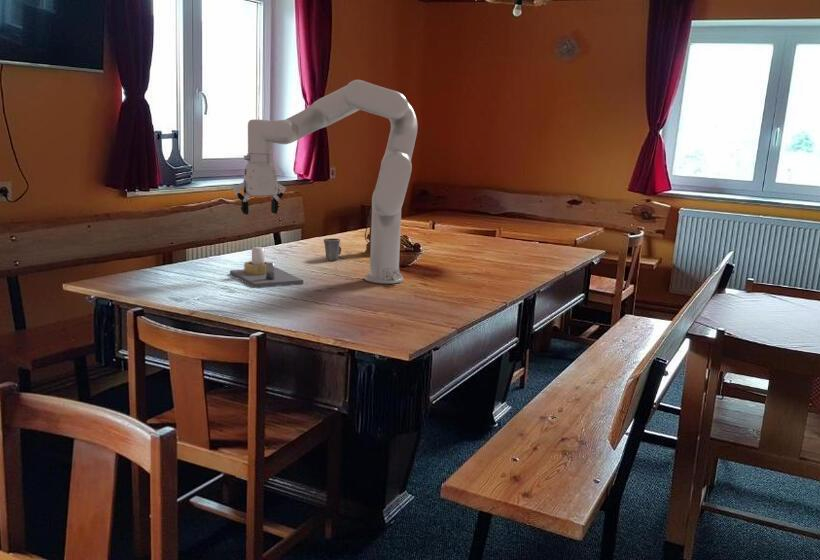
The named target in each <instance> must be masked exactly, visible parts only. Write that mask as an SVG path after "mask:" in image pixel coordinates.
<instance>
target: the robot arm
mask: <svg viewBox="0 0 820 560" xmlns="http://www.w3.org/2000/svg"><path fill="white" fill-rule="evenodd" d="M358 111H364V112H366V113H369V114H372V115H376V116H378V117H379V116H380V117H382V118H385V119H388V120H389V122H390V129H389V130H390V132H389V134H388V141H387V144H386V148H385V151H384V155H383V157H382V159H381V161H380V162H381V163H380V168H379V172H378V177H377V180H376V184H375V188H374V189H373V190H374V192H373V193H372V197H371V206H372V226H371V251H370V255H369V256H370V257H369V259H370V261H369V273H367V274H365V275H364V280H365V281H366V282H369V283H375V284H383V285H385V284H388V285H389V284H390V285H391V284H399V283H402V282H403V281H404V277H403V274H402V273H400V250H401V249H400V248H401V230H402V207H403V204H404V201H405V198H406V194H407V190H408V187H409V182H410V180H411V176H412V175H411V174H412V168H413V165H412V157H413V153H414V149H415V143H416V139H417V135H418V126H419V125H418V119H417V115H416V112H415V111H414V108H413V107H412V105H411V104H410V102H409V101H408V99H407V98H406V96H405V95H404V94H403V93H401V92H399V91H397V90H394V89H390V88H386V87H383V86H380V85H377V84H373V83H371V82H368V81H365V80H361V79H353V80H352V81H350V82H348V84H347V85H344V86H342V87H340V88H339V89H337V90H335V91H333V92H331V93H329V94H327V95H325V96H323V97H319V98H318V99H317V100H315V101H314V102H313V103H312V104H310V105H309V106H308V107H307V108H305V109H303V110H302V111H299V112H297V113H296V114H294V115H292V116H289V117H288V118H286V119H278V120H268V119H257V118H256V119H255V118H254V119H250V120H249V121H248V122H247V154H246V155H243V160H244V161H247V163H246V164H245V166H244V172H243V180H242V182H241V183H239V184H238V185H236V186H233V188H232V189H233V191H234V193H235V195H236V197H237V198H238V199H239V201H240V202H241V211H242V214H243V215H246V216H247V215H249V202H248V200H249V199H250V197H271V199H272V200H271V201H270V205H271V207H270V209H271V210H270V212H271V213H272V214H274V215H275V214H278V211H279V201H280V200H281V199H282V198H283V196H284V193H285V192H286V190H287V187H286V186H284V185H282V184H281V183H279V182H278V176H277V175H278V174H277V170H276V169H277V168H276V165H275V164H273V144H276V145H277V144H278V145H288V144H292V143H294V142H297V141H298V140H300V139H302V138H304V137H306V136H309V135H310V134H312V133H314V132H316V131H319V130H320V129H323V128H326V127H329V126H331V125H332V124H335V123H337V122H338V121H341V120H343V119H344V118H346V117H348V116H351V115H353V114H355V113H356V112H358ZM241 189H243V194H242V193H241V191H240V190H241ZM278 189H279V191H278Z"/></svg>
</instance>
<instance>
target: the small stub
mask: <svg viewBox="0 0 820 560" xmlns="http://www.w3.org/2000/svg"><path fill="white" fill-rule="evenodd" d="M268 262H269V261H268ZM275 264H276V263H275V262H272V261H271V262H269V263H266V279H267V280H274V277H275V267H276V266H275Z"/></svg>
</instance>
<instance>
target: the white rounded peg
mask: <svg viewBox="0 0 820 560" xmlns="http://www.w3.org/2000/svg"><path fill="white" fill-rule="evenodd" d="M265 252H266V251H265V247H261V246H253V247H251V261H252V265H264V262H265Z"/></svg>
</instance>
